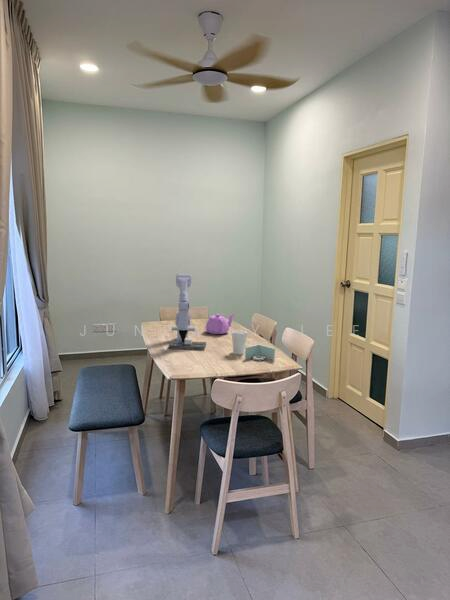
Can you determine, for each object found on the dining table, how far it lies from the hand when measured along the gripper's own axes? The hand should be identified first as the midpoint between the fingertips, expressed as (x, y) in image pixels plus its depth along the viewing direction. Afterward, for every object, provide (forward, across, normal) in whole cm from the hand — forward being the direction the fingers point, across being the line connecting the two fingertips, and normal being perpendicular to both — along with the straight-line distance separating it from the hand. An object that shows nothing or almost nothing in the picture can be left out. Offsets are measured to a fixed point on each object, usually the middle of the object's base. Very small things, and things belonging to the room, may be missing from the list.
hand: (183, 342), depth 258 cm
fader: (+1, +3, 0) cm, 3 cm away
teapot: (+3, +21, +44) cm, 49 cm away
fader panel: (+3, +3, 0) cm, 4 cm away
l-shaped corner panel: (+4, +47, -20) cm, 52 cm away
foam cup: (+3, +35, -8) cm, 36 cm away
